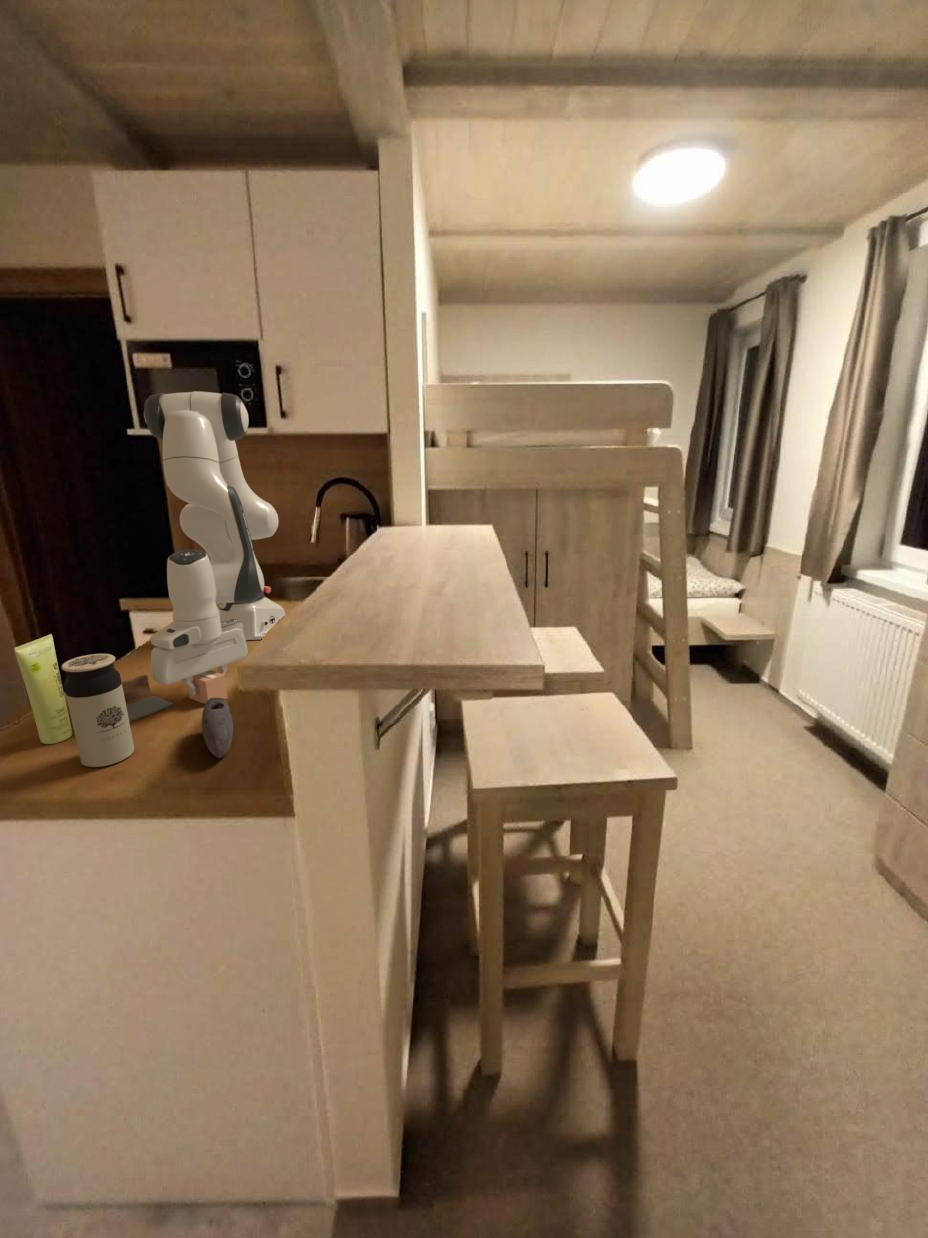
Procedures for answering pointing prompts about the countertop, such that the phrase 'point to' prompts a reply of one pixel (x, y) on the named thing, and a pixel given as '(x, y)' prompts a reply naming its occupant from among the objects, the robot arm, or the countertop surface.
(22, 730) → the countertop surface
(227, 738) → the perforated stone tool
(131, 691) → the walnut corner walls
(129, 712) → the slate pad
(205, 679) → the terracotta block
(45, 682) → the tube
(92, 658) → the travel mug
